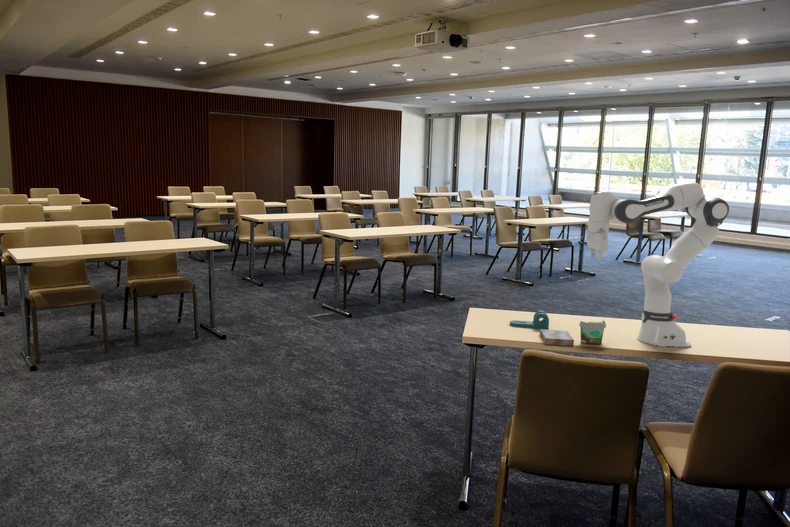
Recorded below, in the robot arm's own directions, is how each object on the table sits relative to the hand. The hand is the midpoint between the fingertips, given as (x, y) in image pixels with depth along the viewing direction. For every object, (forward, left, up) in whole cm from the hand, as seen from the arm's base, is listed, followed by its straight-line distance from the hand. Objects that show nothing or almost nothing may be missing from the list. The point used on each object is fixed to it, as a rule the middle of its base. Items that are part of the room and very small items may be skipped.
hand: (595, 258), depth 270 cm
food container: (0, +8, -37) cm, 38 cm away
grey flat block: (+16, +6, -37) cm, 40 cm away
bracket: (+25, -18, -37) cm, 48 cm away
